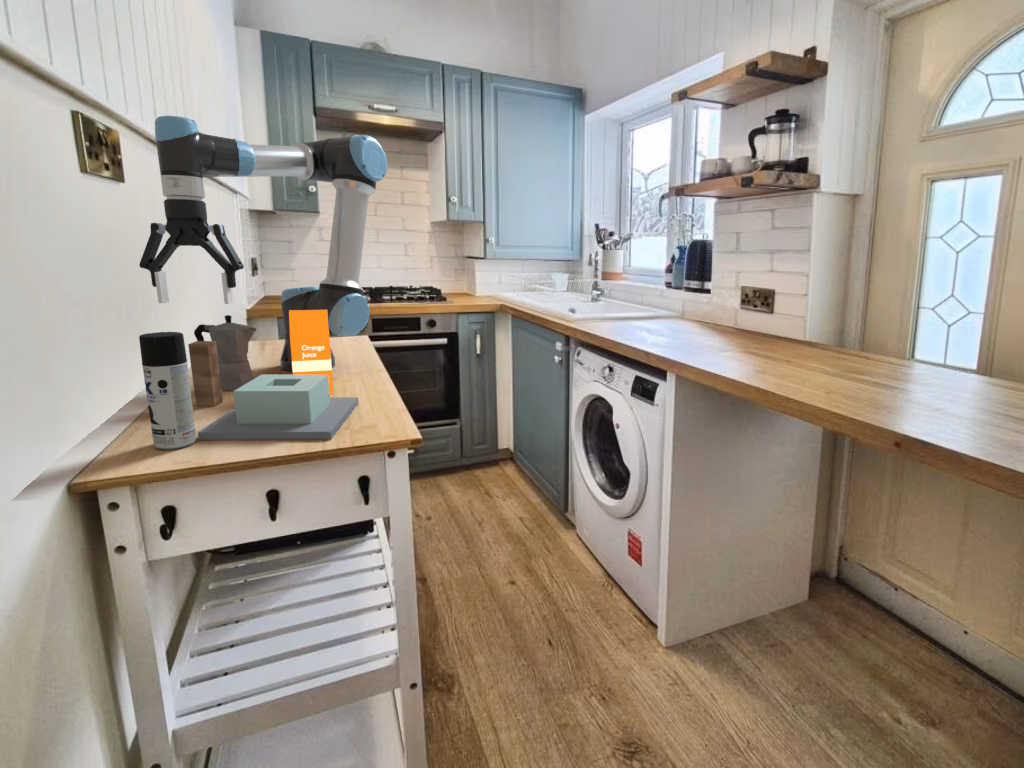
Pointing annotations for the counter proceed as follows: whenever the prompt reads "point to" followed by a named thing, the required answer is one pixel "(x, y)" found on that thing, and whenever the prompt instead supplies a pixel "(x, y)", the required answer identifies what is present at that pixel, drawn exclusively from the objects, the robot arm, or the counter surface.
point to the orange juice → (310, 343)
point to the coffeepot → (230, 351)
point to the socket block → (282, 410)
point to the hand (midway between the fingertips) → (196, 303)
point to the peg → (205, 373)
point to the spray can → (168, 389)
